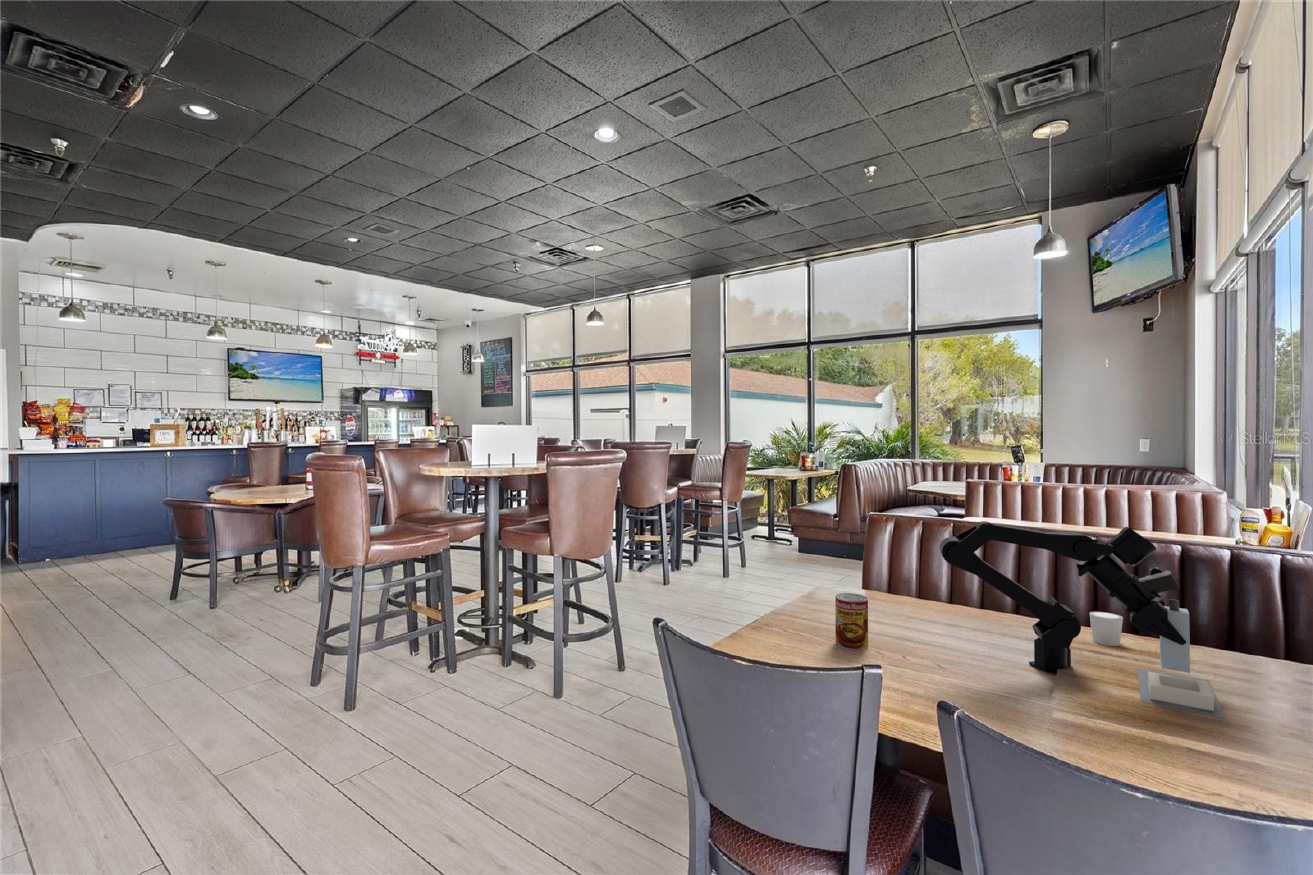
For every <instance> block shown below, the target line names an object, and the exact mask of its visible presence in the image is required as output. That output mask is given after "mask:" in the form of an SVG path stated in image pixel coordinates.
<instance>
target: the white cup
mask: <svg viewBox="0 0 1313 875" xmlns="http://www.w3.org/2000/svg"><path fill="white" fill-rule="evenodd" d="M1089 618H1090V619H1089V622H1090V629H1091V636H1092V637H1091V638H1092V641H1093V643H1096V644H1098V643H1099V645H1103V646H1108V647H1109V646H1110V647H1118V646H1119V647H1120V645H1121V638H1122V631H1123V630H1122V629H1123V620H1124V617H1123V616H1121V615H1119V614H1117V613H1113V612H1112V613H1111V612H1105V611H1090V612H1089Z"/></svg>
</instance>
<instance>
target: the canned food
mask: <svg viewBox="0 0 1313 875" xmlns="http://www.w3.org/2000/svg"><path fill="white" fill-rule="evenodd" d="M834 598H835V600H834V601H835V604H834V605H835V608H834V610H835V611H834V612H835V645H836V646H837V647H840V648H842V649H846V650H851V651H861V650H862V651H863V650H866V649H868V647H869V598H868V596H866V595H863V594H859V593H851V592H848V593H847V592H846V593H845V592H843V593H837V594H836V595H835V597H834Z"/></svg>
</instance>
